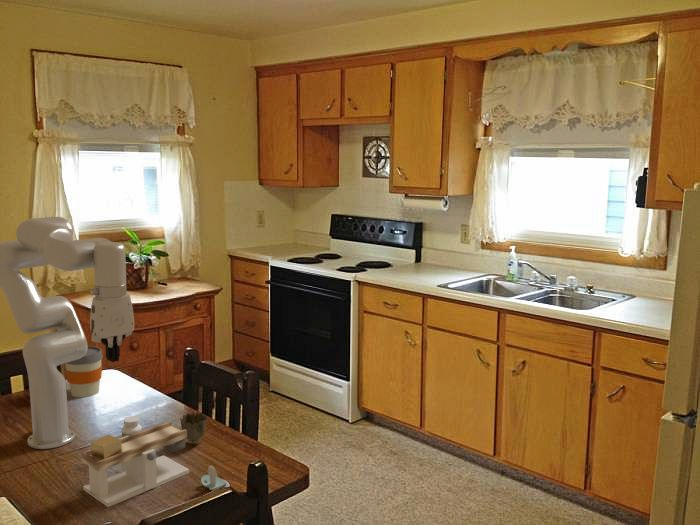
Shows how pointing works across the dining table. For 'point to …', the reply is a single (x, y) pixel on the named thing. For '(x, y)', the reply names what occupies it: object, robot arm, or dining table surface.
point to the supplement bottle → (131, 426)
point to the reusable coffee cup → (85, 373)
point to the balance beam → (140, 445)
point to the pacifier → (213, 480)
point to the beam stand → (133, 477)
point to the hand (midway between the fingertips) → (113, 360)
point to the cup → (194, 427)
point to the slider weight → (105, 447)
